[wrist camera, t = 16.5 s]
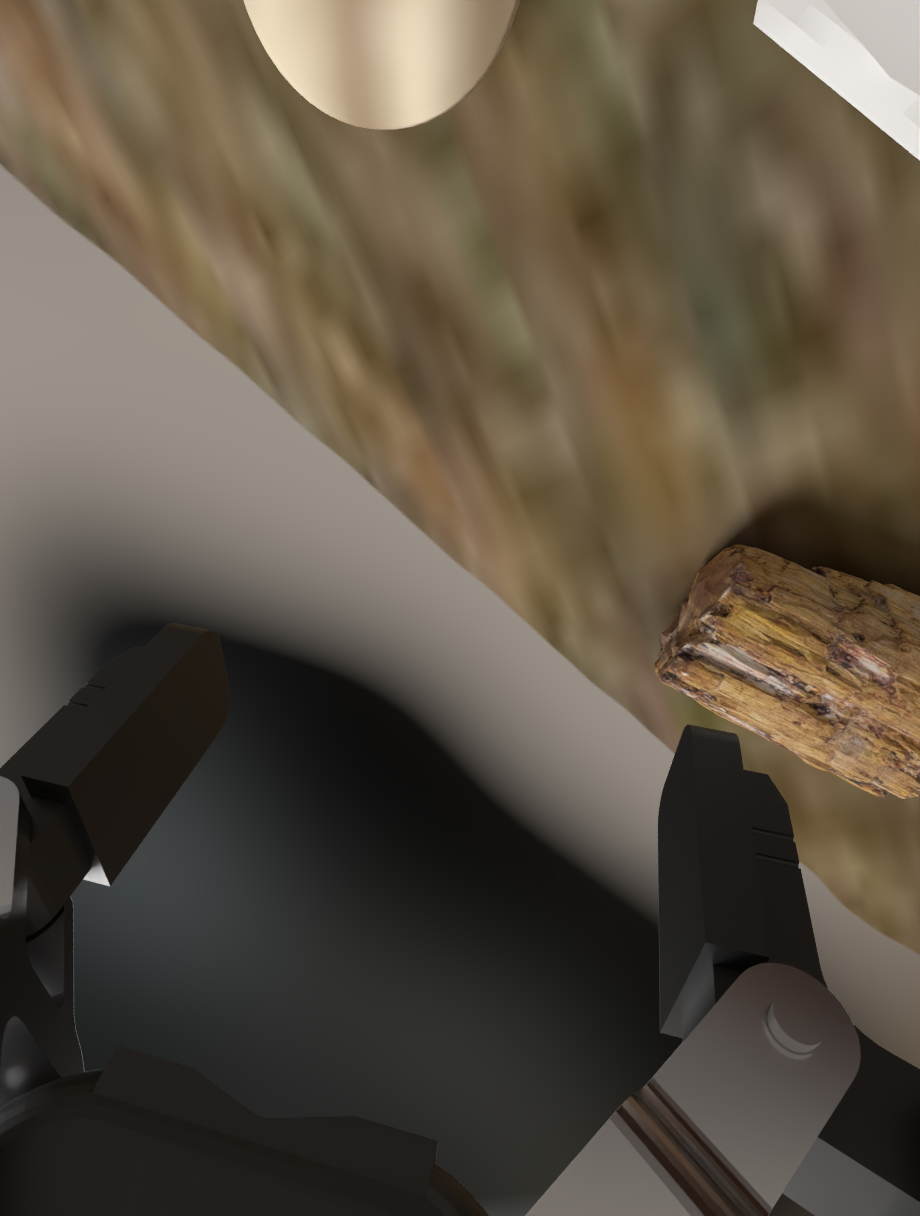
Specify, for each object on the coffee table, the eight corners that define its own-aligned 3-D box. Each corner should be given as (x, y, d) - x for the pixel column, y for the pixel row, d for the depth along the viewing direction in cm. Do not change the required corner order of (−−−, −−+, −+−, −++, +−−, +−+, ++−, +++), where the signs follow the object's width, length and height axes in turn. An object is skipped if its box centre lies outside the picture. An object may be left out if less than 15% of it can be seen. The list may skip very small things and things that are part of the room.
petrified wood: (636, 638, 53) (646, 704, 44) (733, 490, 48) (769, 530, 39) (857, 749, 54) (913, 836, 44) (978, 614, 48) (1070, 683, 39)
